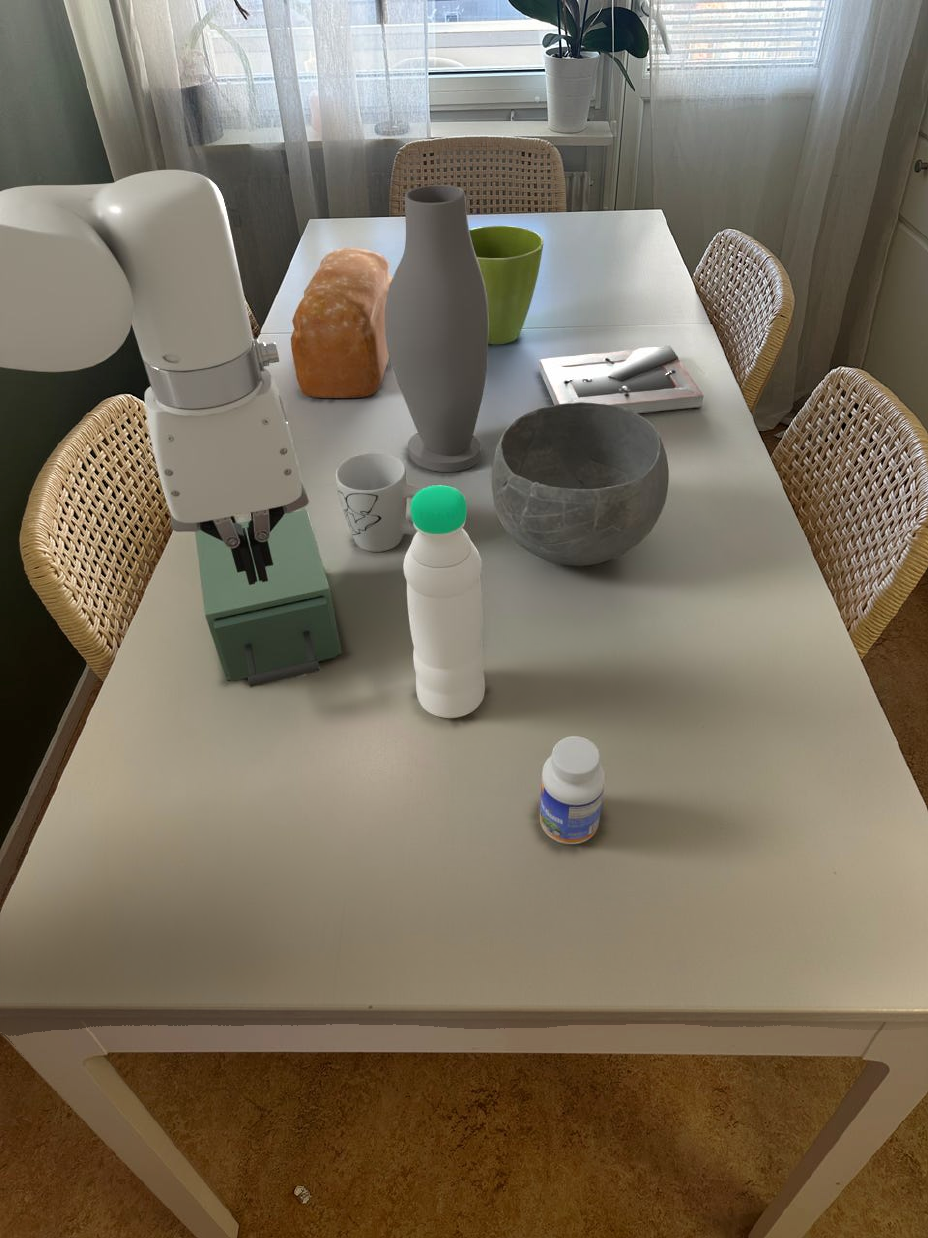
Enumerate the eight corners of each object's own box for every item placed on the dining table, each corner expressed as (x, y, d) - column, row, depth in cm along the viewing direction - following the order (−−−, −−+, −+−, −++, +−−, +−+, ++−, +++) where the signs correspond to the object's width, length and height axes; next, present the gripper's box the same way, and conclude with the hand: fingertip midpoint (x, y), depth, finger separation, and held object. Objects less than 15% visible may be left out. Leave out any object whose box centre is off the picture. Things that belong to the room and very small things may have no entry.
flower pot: (502, 309, 159) (501, 218, 148) (559, 335, 150) (562, 240, 139) (438, 334, 152) (432, 241, 141) (494, 363, 144) (492, 266, 133)
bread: (294, 399, 137) (276, 302, 126) (326, 327, 156) (312, 237, 145) (380, 400, 136) (369, 302, 125) (402, 327, 155) (394, 237, 144)
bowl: (539, 480, 118) (542, 379, 108) (682, 522, 110) (700, 417, 100) (462, 564, 106) (457, 459, 96) (617, 619, 98) (630, 510, 87)
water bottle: (497, 686, 91) (495, 487, 74) (461, 731, 87) (450, 531, 69) (441, 662, 94) (426, 465, 77) (403, 704, 89) (379, 506, 72)
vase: (386, 470, 121) (356, 206, 98) (419, 424, 130) (399, 172, 106) (475, 485, 118) (467, 215, 94) (503, 436, 127) (502, 179, 103)
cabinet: (342, 654, 95) (329, 588, 89) (226, 680, 93) (205, 615, 86) (319, 573, 105) (307, 508, 99) (215, 595, 103) (195, 531, 97)
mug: (442, 525, 112) (438, 459, 105) (423, 566, 106) (417, 498, 99) (359, 513, 114) (350, 448, 107) (335, 553, 108) (324, 486, 101)
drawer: (347, 693, 90) (337, 639, 84) (236, 720, 88) (219, 666, 82) (316, 580, 103) (306, 527, 98) (220, 600, 101) (203, 548, 96)
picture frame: (668, 359, 143) (539, 371, 141) (670, 345, 141) (539, 357, 139) (701, 409, 131) (560, 423, 129) (704, 394, 129) (561, 408, 127)
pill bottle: (529, 806, 80) (531, 739, 73) (582, 788, 81) (589, 720, 74) (555, 855, 76) (559, 789, 69) (610, 835, 77) (619, 768, 71)
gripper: (302, 331, 64) (336, 529, 77) (94, 365, 62) (164, 564, 74) (319, 377, 59) (352, 581, 72) (92, 416, 56) (168, 621, 69)
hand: (256, 572), depth 73 cm, fingers closed
